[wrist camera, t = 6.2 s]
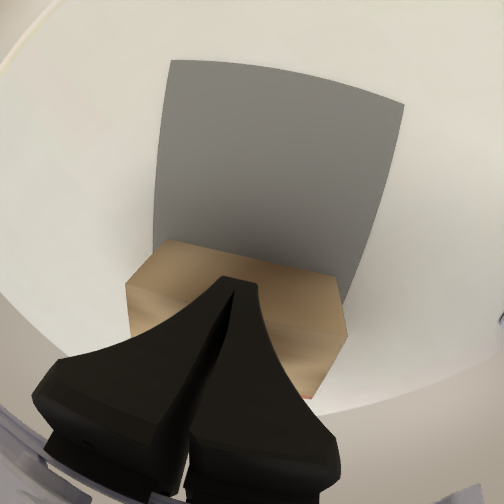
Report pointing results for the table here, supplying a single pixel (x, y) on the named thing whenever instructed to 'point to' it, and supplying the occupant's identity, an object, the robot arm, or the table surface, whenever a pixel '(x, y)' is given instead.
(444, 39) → the table surface
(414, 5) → the table surface
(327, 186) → the rubber mat
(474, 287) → the table surface
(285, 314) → the oak block
